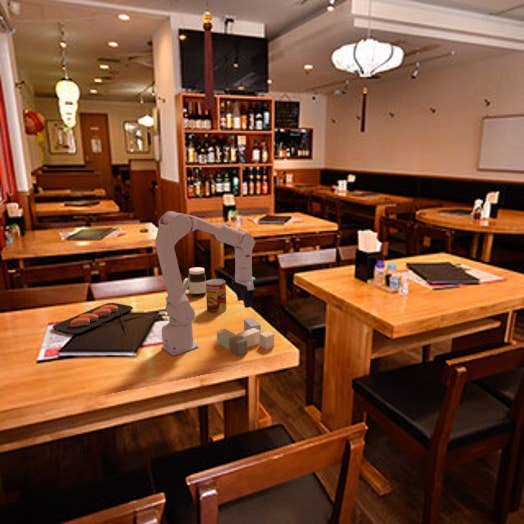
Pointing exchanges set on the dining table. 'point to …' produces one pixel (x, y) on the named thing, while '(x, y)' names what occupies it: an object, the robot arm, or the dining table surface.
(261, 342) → the pale grey cube brick
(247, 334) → the cream brick
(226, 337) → the sage green brick
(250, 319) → the slate blue brick
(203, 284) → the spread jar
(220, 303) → the canned food
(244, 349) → the charcoal cube brick
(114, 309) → the sushi plate
